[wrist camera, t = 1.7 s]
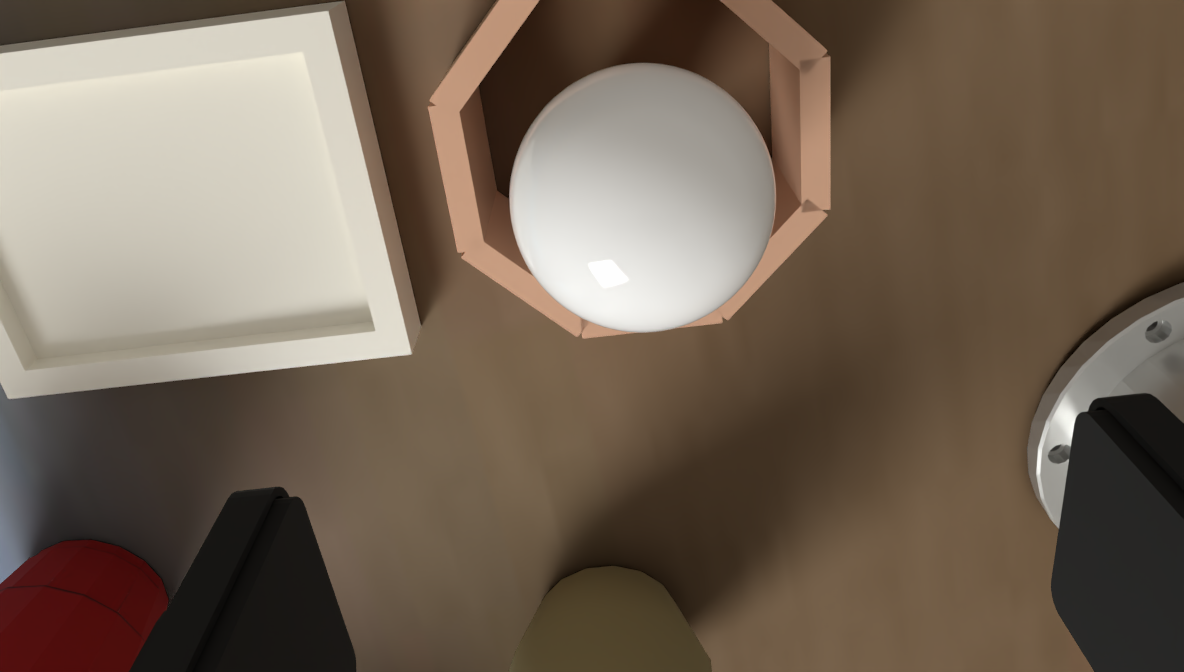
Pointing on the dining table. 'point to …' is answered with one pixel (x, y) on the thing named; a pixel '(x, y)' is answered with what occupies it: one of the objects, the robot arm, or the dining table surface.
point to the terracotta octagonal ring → (487, 211)
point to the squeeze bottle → (609, 627)
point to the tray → (194, 205)
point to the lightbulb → (642, 197)
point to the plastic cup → (78, 609)
